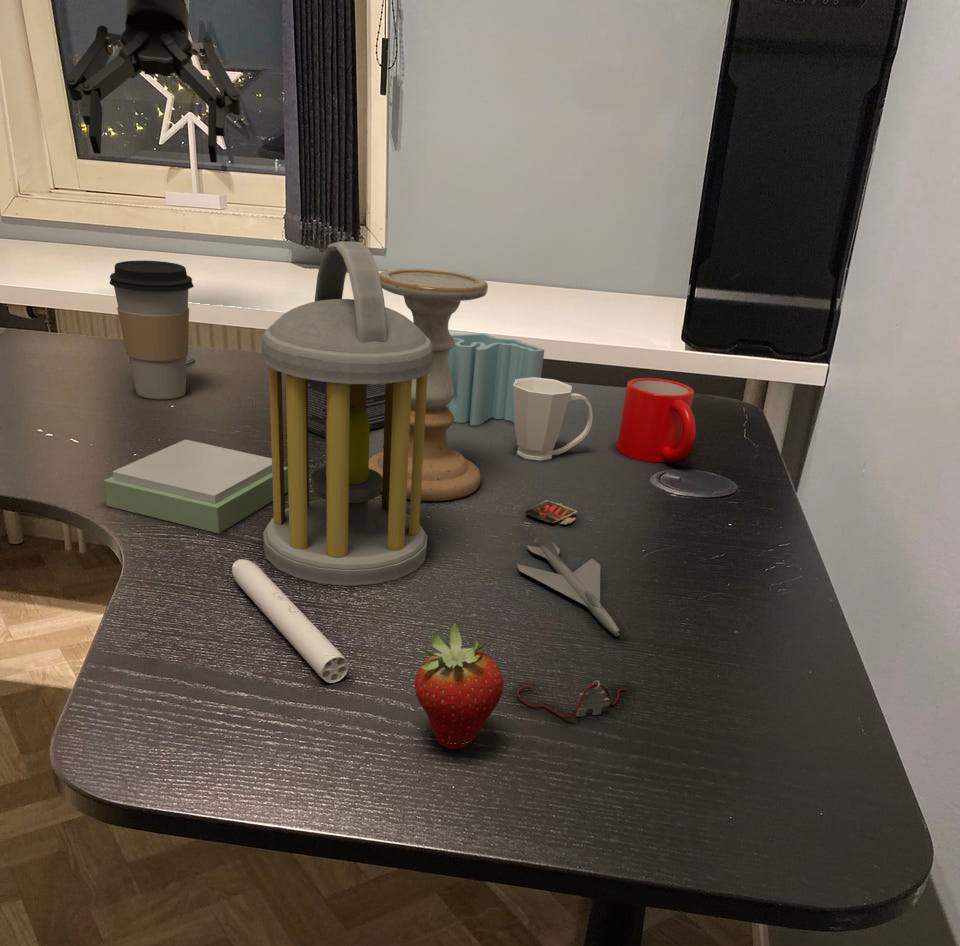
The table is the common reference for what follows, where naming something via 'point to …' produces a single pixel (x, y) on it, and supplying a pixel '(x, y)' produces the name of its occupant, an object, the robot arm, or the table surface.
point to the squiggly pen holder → (489, 375)
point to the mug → (657, 421)
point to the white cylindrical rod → (290, 622)
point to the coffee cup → (154, 324)
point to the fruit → (457, 689)
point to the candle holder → (435, 377)
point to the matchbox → (551, 512)
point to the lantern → (347, 430)
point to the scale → (194, 485)
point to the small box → (319, 406)
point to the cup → (543, 416)
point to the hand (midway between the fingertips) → (154, 150)
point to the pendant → (584, 700)
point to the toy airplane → (571, 580)
